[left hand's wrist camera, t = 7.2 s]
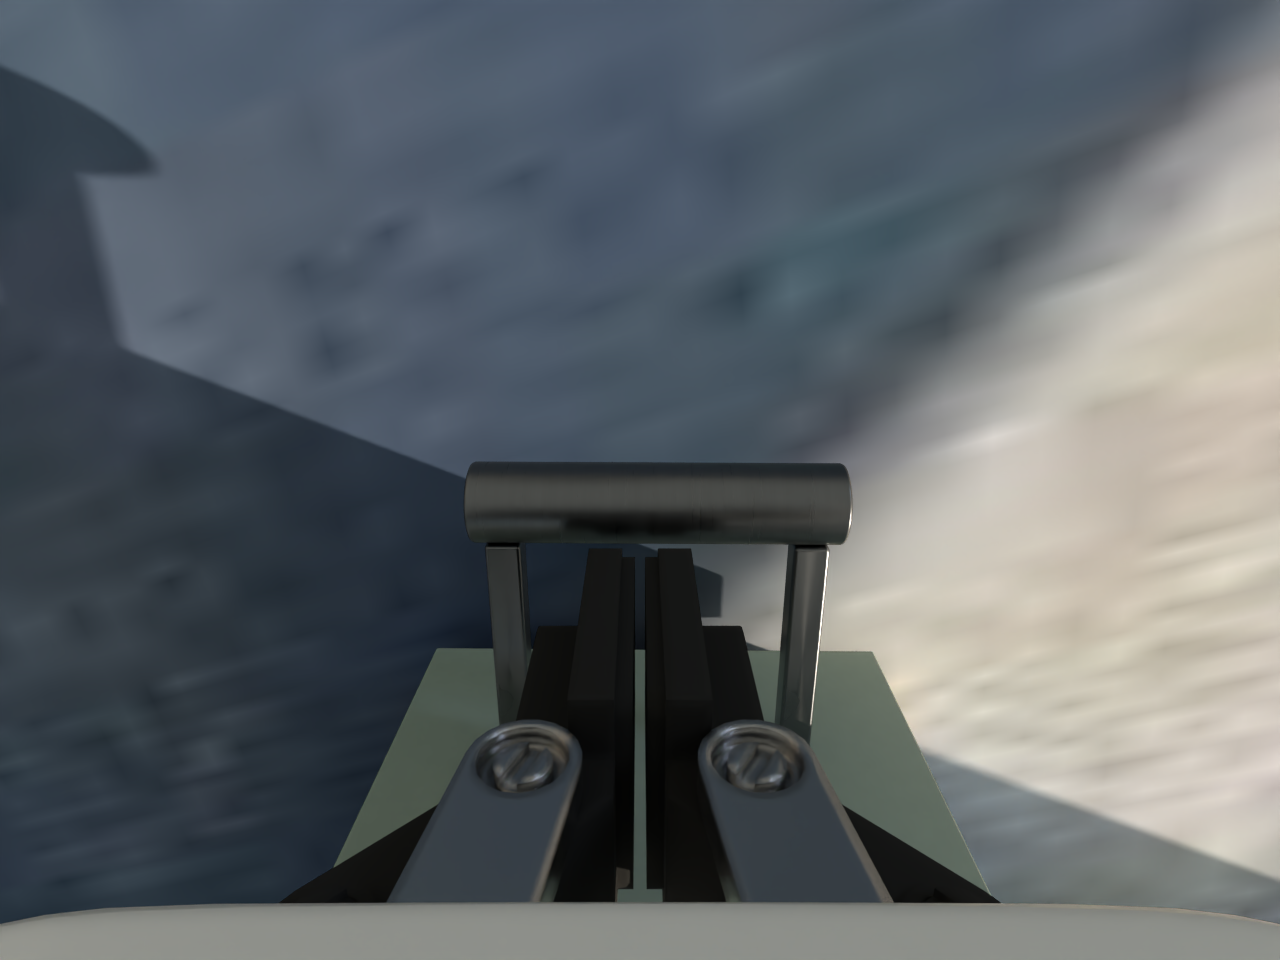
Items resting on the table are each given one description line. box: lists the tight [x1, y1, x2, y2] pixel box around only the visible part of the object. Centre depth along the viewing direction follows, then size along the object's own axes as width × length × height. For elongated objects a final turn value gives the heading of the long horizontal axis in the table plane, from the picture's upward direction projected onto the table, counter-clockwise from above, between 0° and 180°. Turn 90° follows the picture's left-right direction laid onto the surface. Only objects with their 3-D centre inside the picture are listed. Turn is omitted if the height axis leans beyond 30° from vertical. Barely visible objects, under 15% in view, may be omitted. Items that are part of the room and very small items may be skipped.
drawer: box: [333, 462, 991, 902], centre depth 16 cm, size 21×10×7 cm, turn 0°
